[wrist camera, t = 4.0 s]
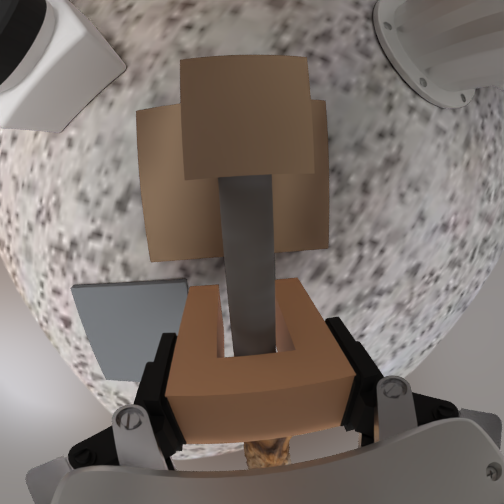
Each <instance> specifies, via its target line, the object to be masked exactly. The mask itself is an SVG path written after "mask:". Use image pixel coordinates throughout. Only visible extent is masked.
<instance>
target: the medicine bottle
mask: <svg viewBox="0 0 504 504" xmlns="http://www.w3.org/2000/svg"><path fill="white" fill-rule="evenodd" d="M125 69H126V65H125V63H124V62H123V61H122V60H121V58H120V57H119V56H118V54H117V53H116V52H115V51H114V49H113V48H112V47H111V46H110V44H109V43H108V42H107V41H106V39H105V38H104V37H103V36H102V34H101V33H100V32H99V31H98V29H97V28H96V27H95V26H94V24H93V23H92V22H91V21H90V20H89V19H88V18H87V17H86V16H85V15H84V14H83V13H82V12H81V11H79V10H78V9H77V8H76V7H75V6H74V5H73V4H72V3H71V2H70V1H69V0H0V127H1V128H4V129H21V130H34V131H45V132H54V133H60V132H61V131H62V130H63V129H64V128H65V127H66V126H67V125H68V124H69V122H70V121H71V120H72V119H73V118H74V117H75V116H76V115H77V114H78V113H79V112H80V111H81V110H82V109H83V108H84V107H85V106H86V105H87V104H88V103H89V102H90V101H91V100H92V99H93V98H94V97H95V96H96V95H97V94H98V93H99V92H100V91H102V90H103V89H104V88H105V87H106V86H107V85H108V84H109V83H111V82H112V81H113V80H114V79H115V78H116V77H118V76H119V75H120V74H121V73H122V72H124V71H125Z"/></svg>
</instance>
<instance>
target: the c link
mask: <svg viewBox="0 0 504 504" xmlns="http://www.w3.org/2000/svg"><path fill="white" fill-rule="evenodd" d="M275 319H276V347H277V350H278V352H277V353H268V354H259V355H249V356H238V357H225V358H224V327H223V319H222V310H221V302H220V293H219V284H218V285H204V286H190V288H189V292H188V296H187V300H186V304H185V308H184V312H183V316H182V320H181V324H180V328H179V332H178V337H177V341H176V345H175V350H174V354H173V359H172V363H171V368H170V373H169V378H168V383H167V388H166V393H165V397H167V398H168V401H169V403H170V406H171V408H172V411H173V413H174V416H175V418H176V420H177V423H178V425H179V427H180V430H181V432H182V434H183V436H184V438H185V441H186V443H187V444H218V443H237V442H250V441H260V440H268V439H276V438H283V437H289V436H294V435H300V434H306V433H311V432H316V431H320V430H325V429H329V428H333V427H337V426H340V424H341V421H342V418H343V415H344V411H345V408H346V405H347V401H348V398H349V394H350V391H351V387H352V383H353V380H354V376H356V373H355V372H354V370H353V368H352V367H351V365H350V363H349V361H348V360H347V358H346V356H345V355H344V353H343V351H342V350H341V348H340V346H339V345H338V343H337V341H336V340H335V338H334V336H333V335H332V333H331V331H330V330H329V328H328V326H327V325H326V323H325V321H324V320H323V318H322V316H321V315H320V313H319V312H318V310H317V308H316V307H315V305H314V303H313V302H312V300H311V299H310V297H309V295H308V294H307V292H306V290H305V289H304V287H303V286H302V284H301V282H300V281H299V279H298V278H288V279H277V280H275Z"/></svg>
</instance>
